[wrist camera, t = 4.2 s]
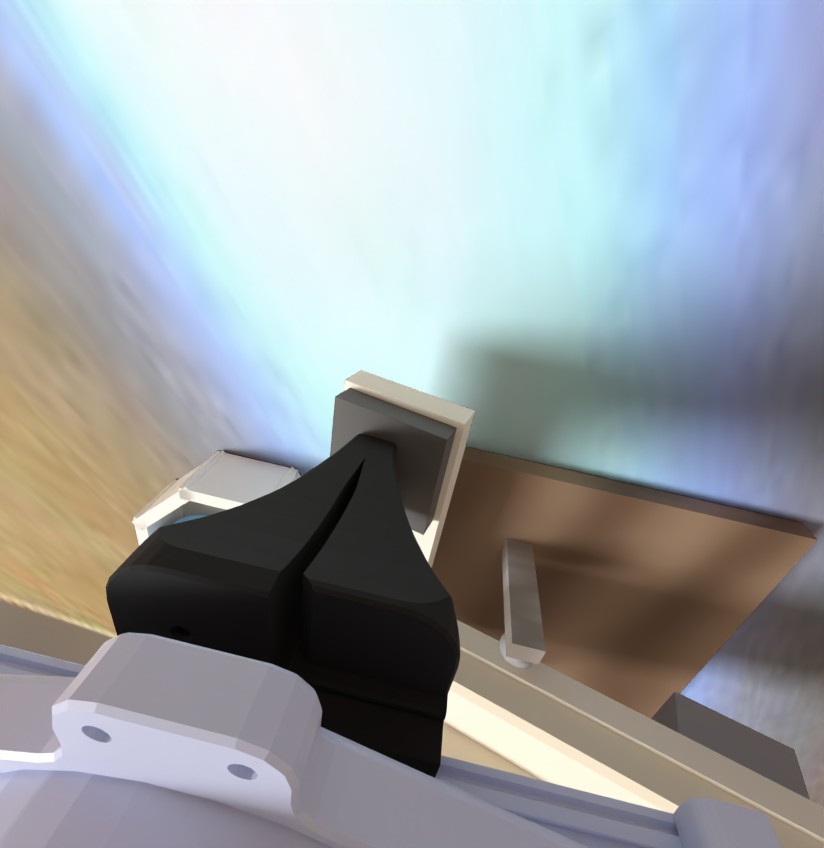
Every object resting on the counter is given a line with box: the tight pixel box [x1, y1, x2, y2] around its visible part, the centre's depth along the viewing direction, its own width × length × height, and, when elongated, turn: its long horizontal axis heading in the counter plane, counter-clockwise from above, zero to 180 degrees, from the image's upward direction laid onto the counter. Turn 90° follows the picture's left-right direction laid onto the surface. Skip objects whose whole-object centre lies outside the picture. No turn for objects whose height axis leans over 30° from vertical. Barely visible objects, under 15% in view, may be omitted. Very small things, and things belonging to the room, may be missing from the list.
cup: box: [132, 450, 301, 546], centre depth 22 cm, size 10×10×3 cm
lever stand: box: [432, 447, 817, 719], centre depth 19 cm, size 18×15×6 cm
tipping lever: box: [330, 370, 824, 848], centre depth 15 cm, size 18×15×4 cm
